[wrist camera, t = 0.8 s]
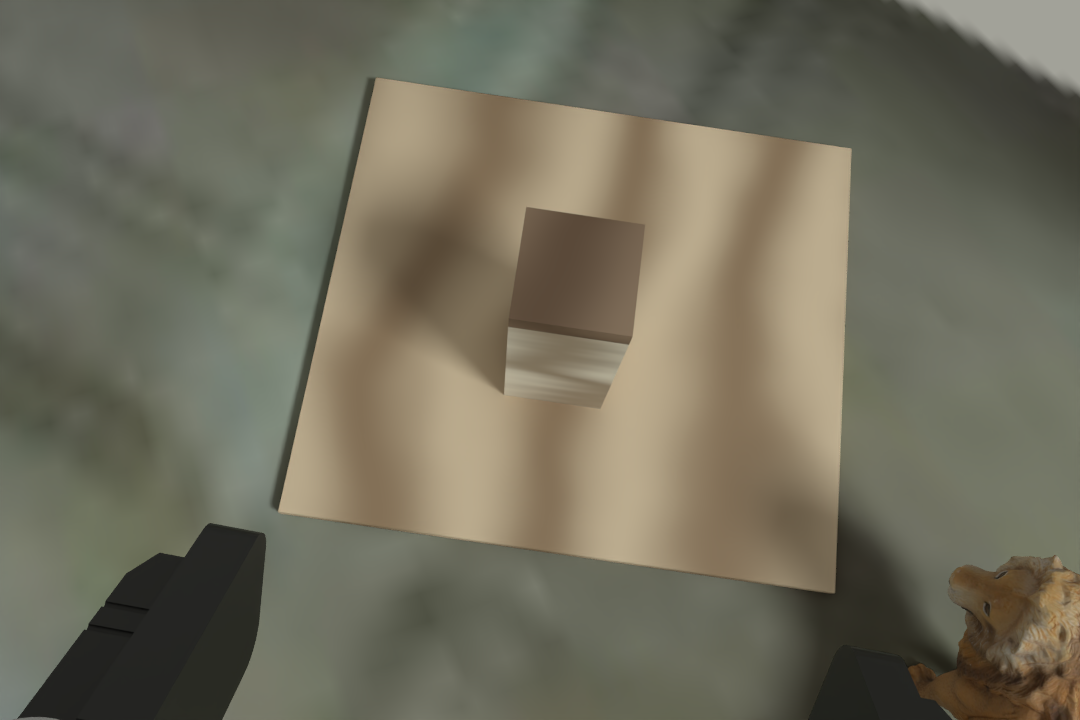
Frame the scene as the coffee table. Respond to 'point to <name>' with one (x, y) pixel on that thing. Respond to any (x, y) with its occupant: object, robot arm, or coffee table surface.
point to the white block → (571, 306)
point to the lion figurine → (1013, 644)
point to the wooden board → (645, 371)
